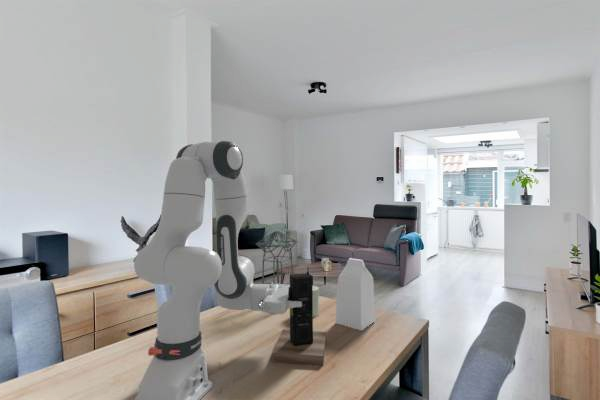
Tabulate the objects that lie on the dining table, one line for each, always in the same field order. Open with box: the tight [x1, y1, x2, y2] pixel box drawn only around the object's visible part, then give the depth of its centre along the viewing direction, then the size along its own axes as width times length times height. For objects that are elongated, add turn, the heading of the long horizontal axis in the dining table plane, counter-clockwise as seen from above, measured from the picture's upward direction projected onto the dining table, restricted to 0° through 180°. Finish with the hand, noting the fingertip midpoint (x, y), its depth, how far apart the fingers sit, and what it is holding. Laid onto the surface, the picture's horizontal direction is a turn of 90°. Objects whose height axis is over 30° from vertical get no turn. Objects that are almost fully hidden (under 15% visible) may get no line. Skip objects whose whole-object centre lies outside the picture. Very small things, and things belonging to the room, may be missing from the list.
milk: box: [335, 257, 376, 331], centre depth 141 cm, size 12×12×26 cm
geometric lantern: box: [255, 230, 299, 284], centre depth 163 cm, size 16×16×35 cm
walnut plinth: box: [272, 329, 327, 366], centre depth 117 cm, size 18×16×3 cm
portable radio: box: [288, 266, 314, 346], centre depth 116 cm, size 8×6×25 cm
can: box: [312, 284, 320, 318], centre depth 150 cm, size 9×9×12 cm
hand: (303, 299), depth 116 cm, fingers open, 8 cm apart
